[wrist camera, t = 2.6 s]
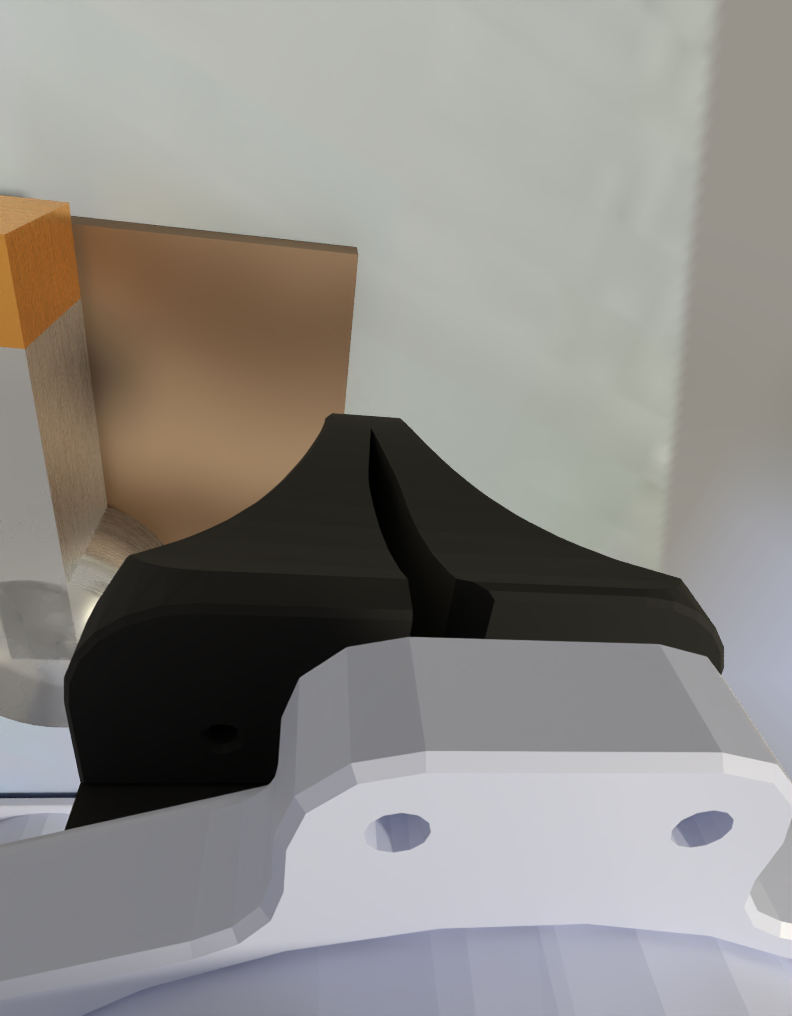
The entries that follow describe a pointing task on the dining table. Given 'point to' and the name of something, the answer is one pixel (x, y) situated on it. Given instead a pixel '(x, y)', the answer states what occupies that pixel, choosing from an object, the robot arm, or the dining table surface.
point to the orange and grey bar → (48, 466)
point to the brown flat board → (208, 363)
